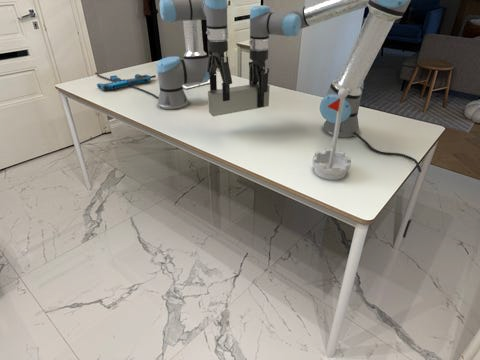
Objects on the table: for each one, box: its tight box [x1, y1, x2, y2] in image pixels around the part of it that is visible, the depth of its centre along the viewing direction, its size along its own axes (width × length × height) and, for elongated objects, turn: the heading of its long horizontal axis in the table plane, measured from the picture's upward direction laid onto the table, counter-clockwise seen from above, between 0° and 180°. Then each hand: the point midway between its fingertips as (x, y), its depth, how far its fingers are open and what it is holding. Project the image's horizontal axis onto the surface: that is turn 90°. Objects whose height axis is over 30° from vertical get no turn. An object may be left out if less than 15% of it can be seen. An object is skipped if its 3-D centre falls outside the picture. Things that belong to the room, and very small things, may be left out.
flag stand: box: [312, 88, 352, 181], centre depth 113 cm, size 13×13×30 cm
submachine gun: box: [96, 73, 157, 92], centre depth 207 cm, size 34×4×25 cm
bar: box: [207, 84, 271, 117], centre depth 143 cm, size 26×5×9 cm, turn 115°
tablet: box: [183, 79, 210, 90], centre depth 213 cm, size 32×20×1 cm, turn 41°
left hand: (219, 95), depth 138 cm, fingers open, 13 cm apart
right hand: (257, 104), depth 148 cm, fingers closed on bar, 5 cm apart
